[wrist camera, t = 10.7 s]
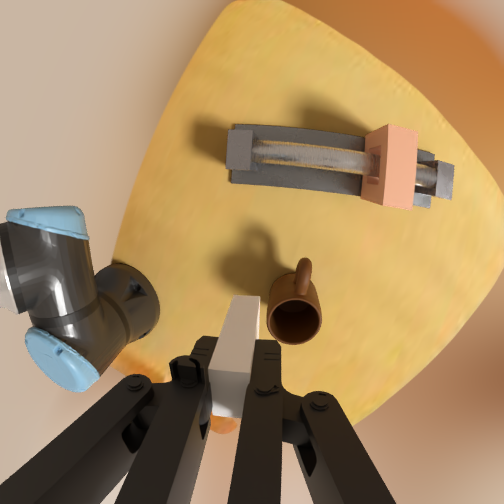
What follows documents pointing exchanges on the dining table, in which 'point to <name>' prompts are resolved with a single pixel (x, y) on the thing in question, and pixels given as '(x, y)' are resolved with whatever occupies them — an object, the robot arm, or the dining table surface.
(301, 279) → the mug
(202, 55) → the dining table surface
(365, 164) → the pipe rig
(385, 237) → the dining table surface
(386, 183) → the collar
